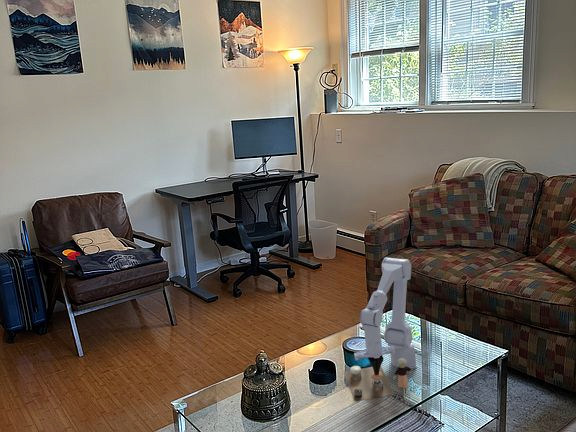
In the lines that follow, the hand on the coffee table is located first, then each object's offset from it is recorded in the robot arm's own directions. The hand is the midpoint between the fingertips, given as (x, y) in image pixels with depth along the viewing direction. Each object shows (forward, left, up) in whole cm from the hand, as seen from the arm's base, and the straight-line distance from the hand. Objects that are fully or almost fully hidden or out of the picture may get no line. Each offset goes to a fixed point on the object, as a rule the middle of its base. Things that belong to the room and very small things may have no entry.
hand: (376, 373), depth 200 cm
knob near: (0, 0, -4) cm, 4 cm away
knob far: (+6, -9, -6) cm, 12 cm away
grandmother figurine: (-10, +1, -8) cm, 12 cm away
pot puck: (+8, +2, -6) cm, 10 cm away
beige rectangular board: (+2, -5, -8) cm, 9 cm away
